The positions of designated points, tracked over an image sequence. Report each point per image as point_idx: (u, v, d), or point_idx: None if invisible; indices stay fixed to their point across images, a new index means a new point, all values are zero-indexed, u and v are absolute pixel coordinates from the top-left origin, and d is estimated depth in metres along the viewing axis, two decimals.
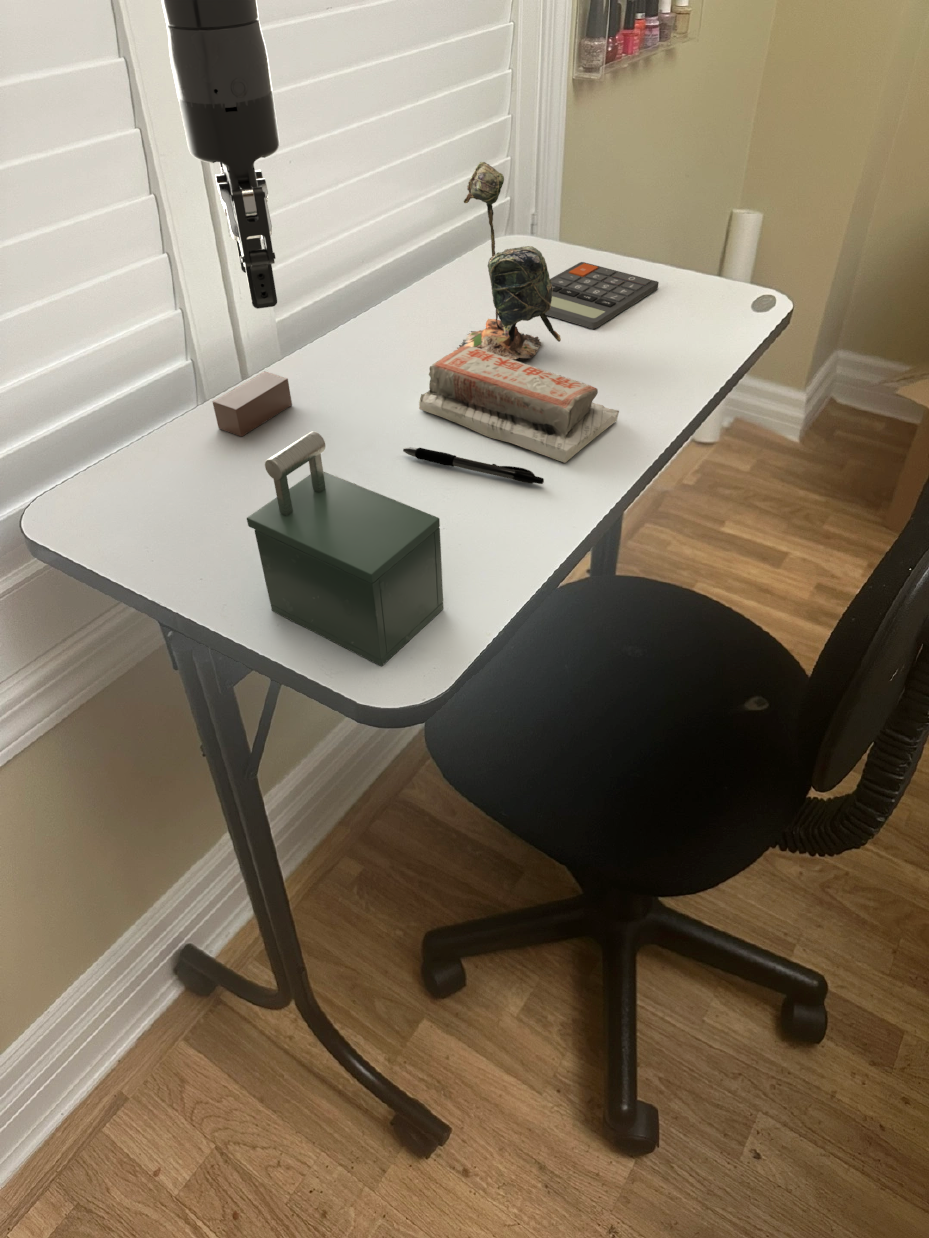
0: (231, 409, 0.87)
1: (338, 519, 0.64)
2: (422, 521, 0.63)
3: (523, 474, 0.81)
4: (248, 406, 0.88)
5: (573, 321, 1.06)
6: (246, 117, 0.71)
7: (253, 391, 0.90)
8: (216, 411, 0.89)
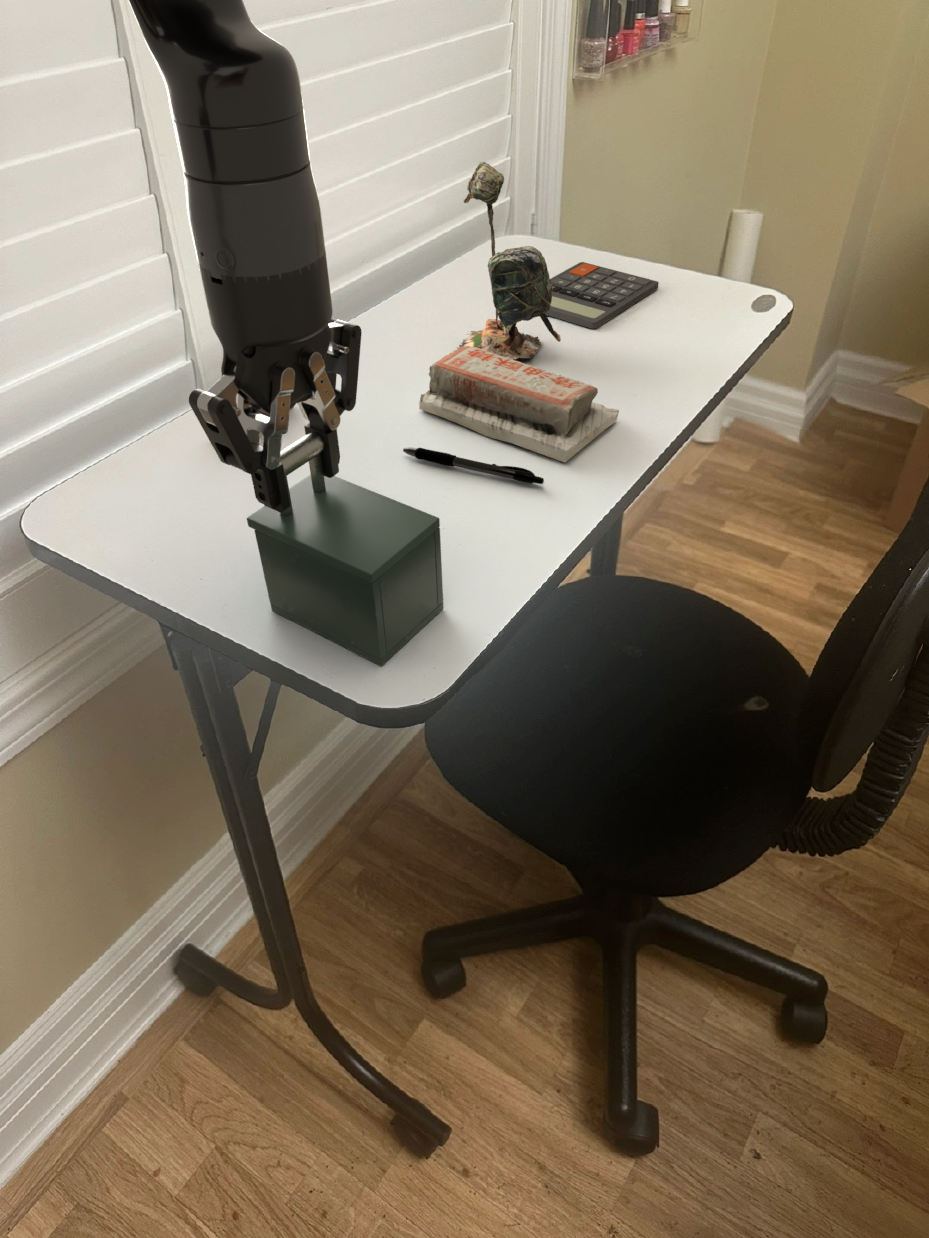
0: None
1: (338, 519, 0.64)
2: (422, 521, 0.63)
3: (523, 474, 0.81)
4: None
5: (573, 321, 1.06)
6: (235, 295, 0.52)
7: None
8: None
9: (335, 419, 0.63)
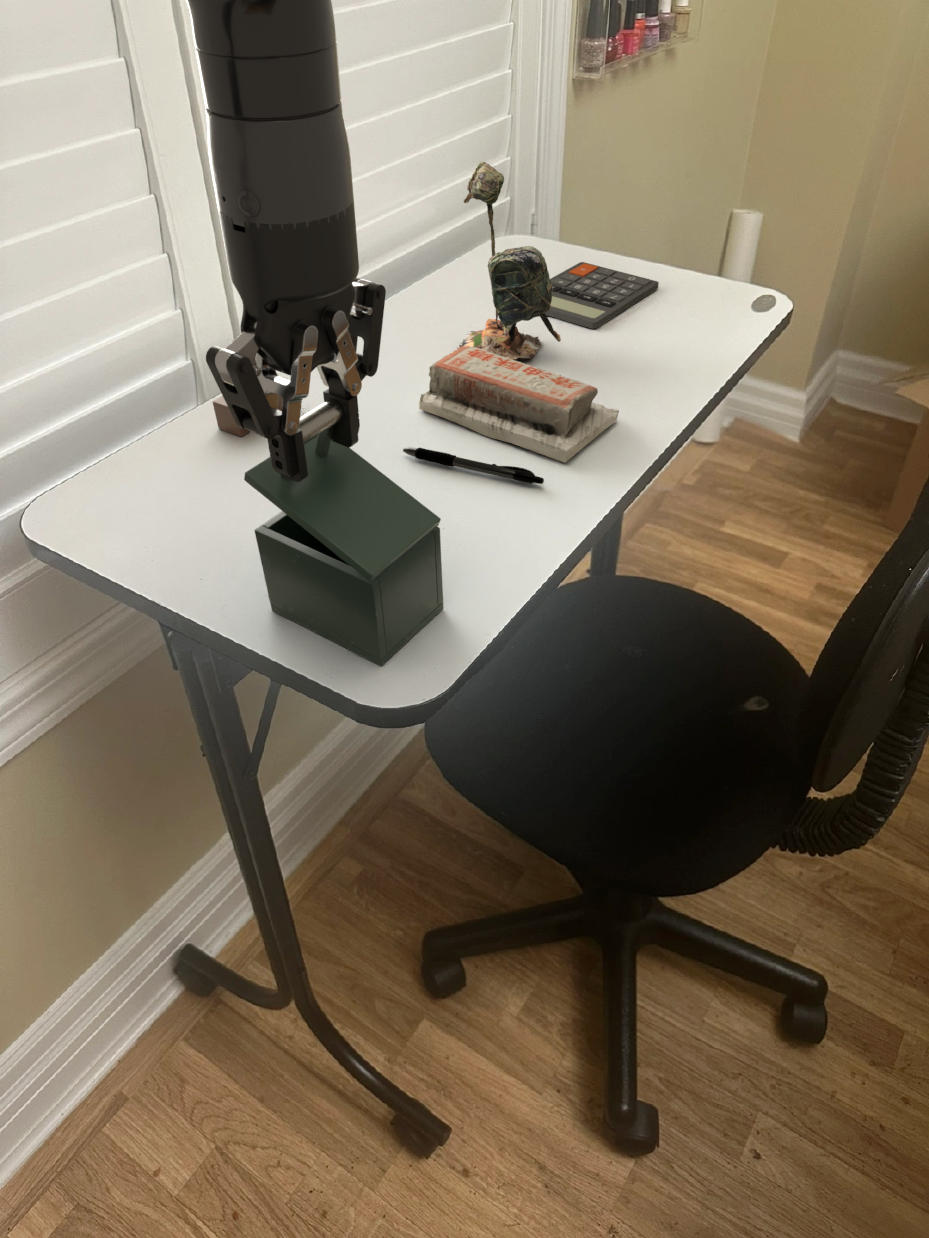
0: None
1: (340, 497, 0.62)
2: (424, 519, 0.63)
3: (523, 474, 0.81)
4: None
5: (573, 321, 1.06)
6: (259, 244, 0.48)
7: None
8: (216, 411, 0.89)
9: (356, 384, 0.60)
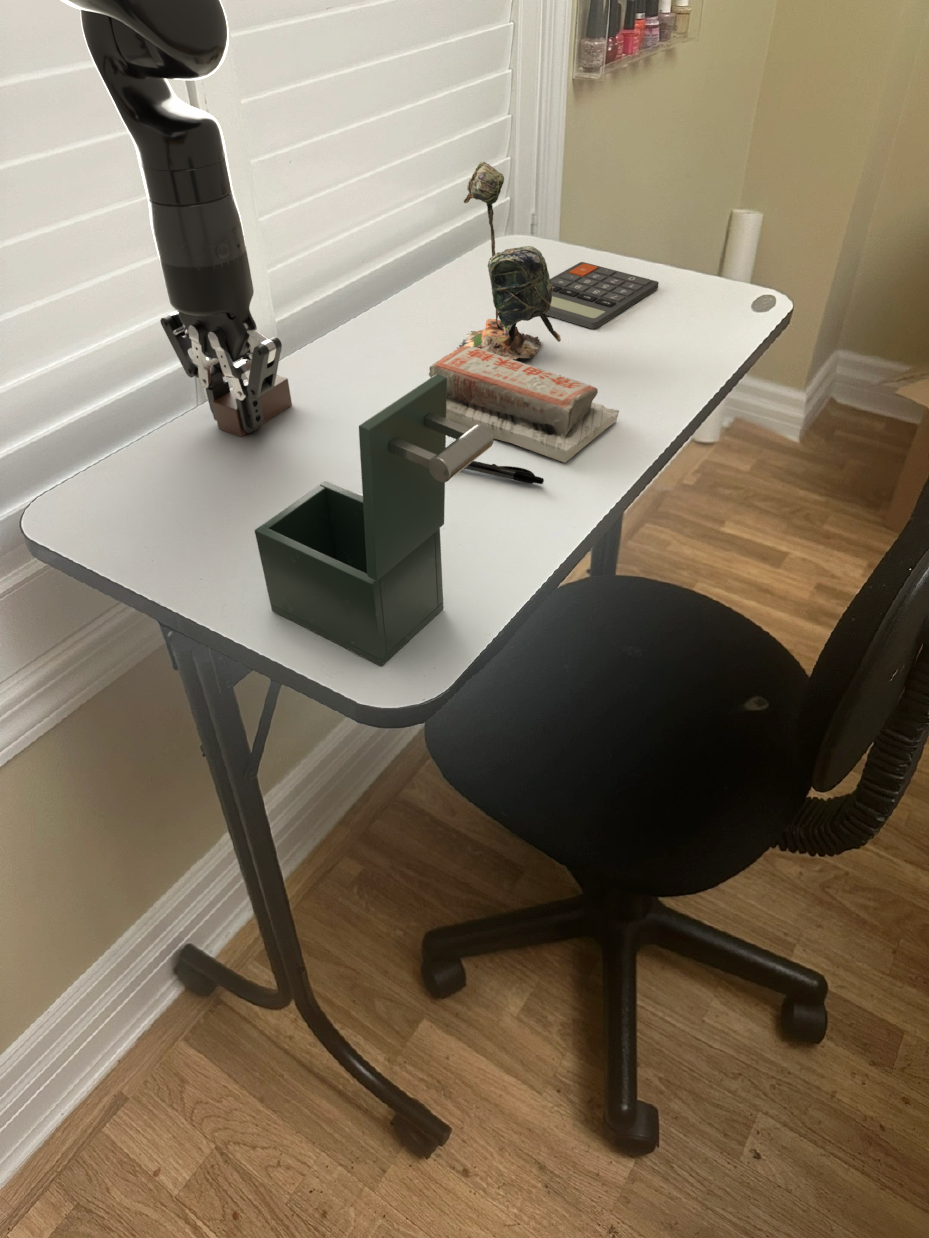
0: (231, 409, 0.87)
1: (407, 483, 0.57)
2: (436, 523, 0.63)
3: (523, 474, 0.81)
4: None
5: (573, 321, 1.06)
6: None
7: None
8: (216, 411, 0.89)
9: (238, 392, 0.85)
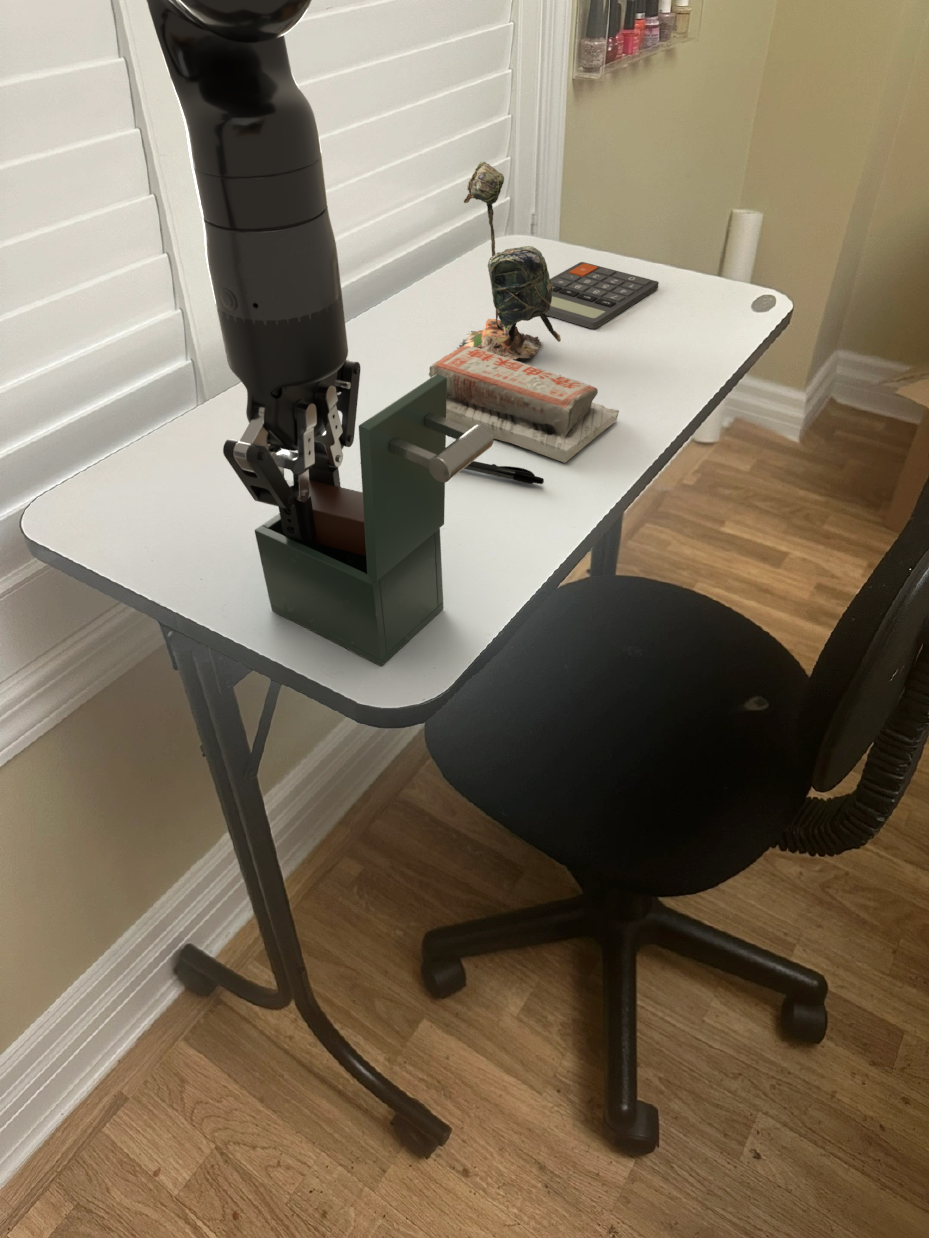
0: None
1: (407, 483, 0.57)
2: (436, 523, 0.63)
3: (523, 474, 0.81)
4: None
5: (573, 321, 1.06)
6: None
7: (337, 504, 0.63)
8: None
9: None
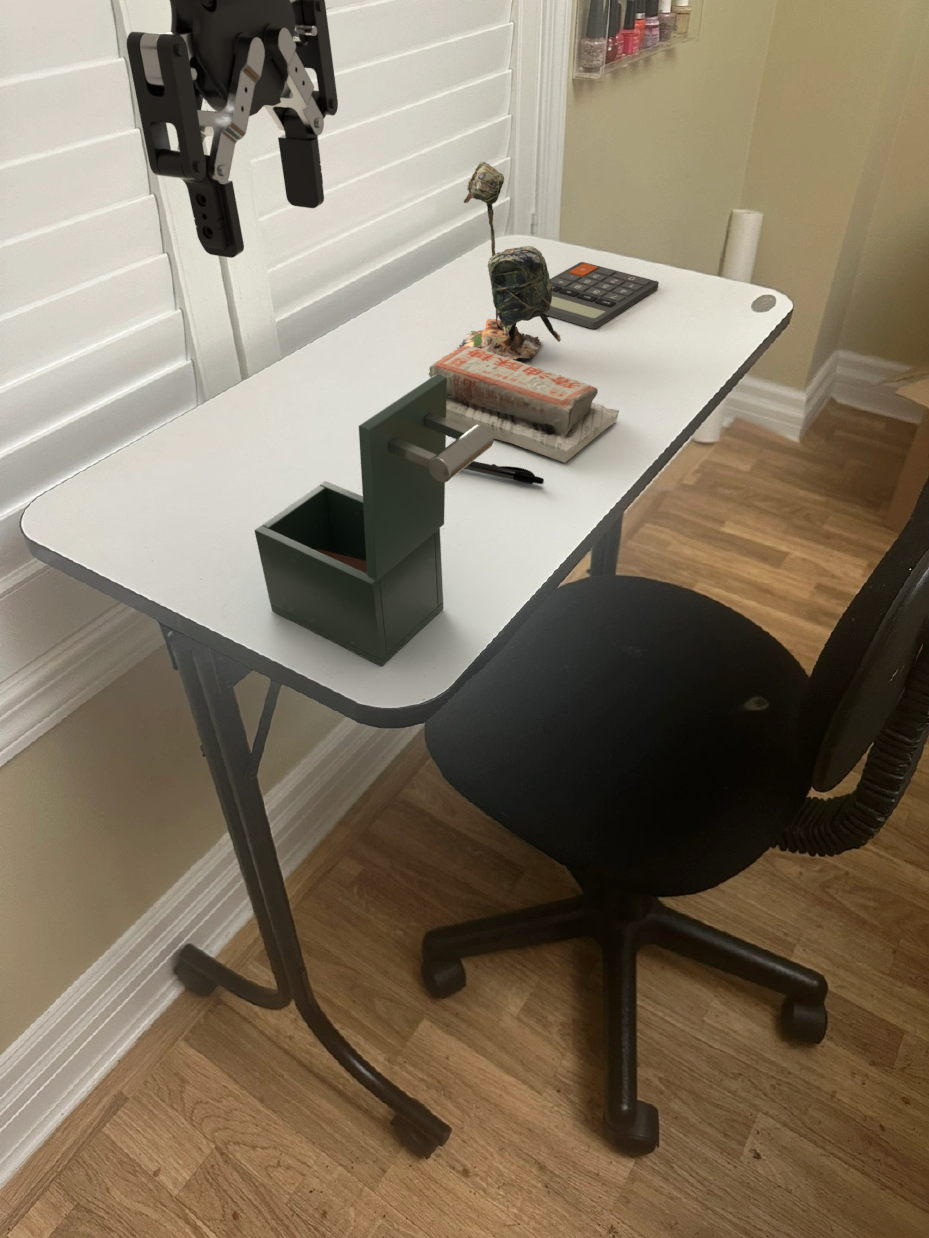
0: None
1: (407, 483, 0.57)
2: (436, 523, 0.63)
3: (523, 474, 0.81)
4: None
5: (573, 321, 1.06)
6: None
7: None
8: None
9: None
